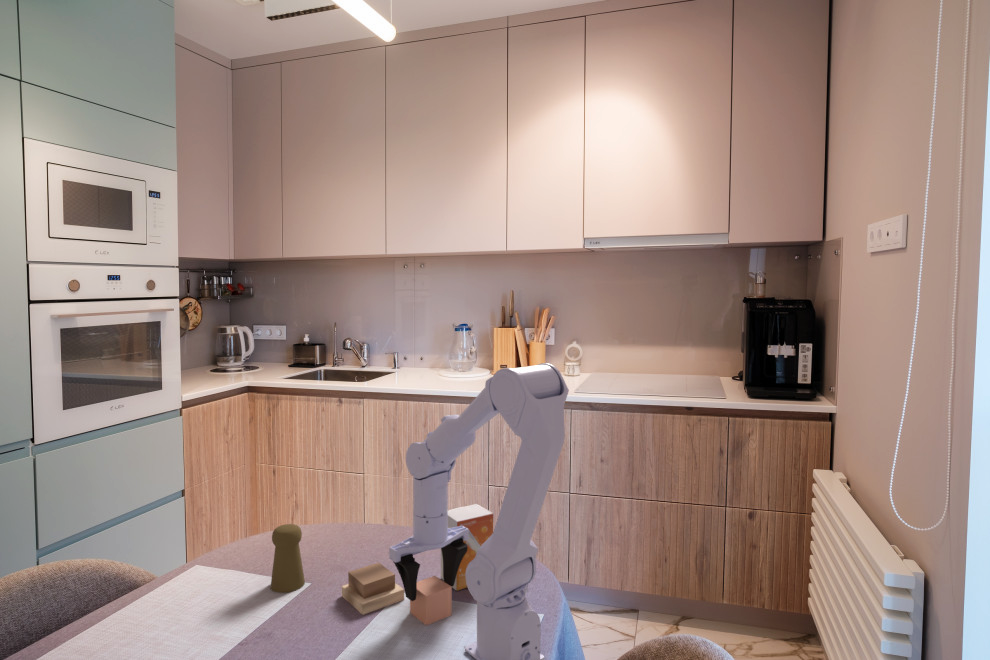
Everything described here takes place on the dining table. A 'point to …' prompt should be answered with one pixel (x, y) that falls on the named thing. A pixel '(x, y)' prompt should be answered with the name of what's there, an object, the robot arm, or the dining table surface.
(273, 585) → the olive game pawn
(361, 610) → the birch base slab
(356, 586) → the walnut top slab
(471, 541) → the small box
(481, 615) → the robot arm
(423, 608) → the terracotta cube
